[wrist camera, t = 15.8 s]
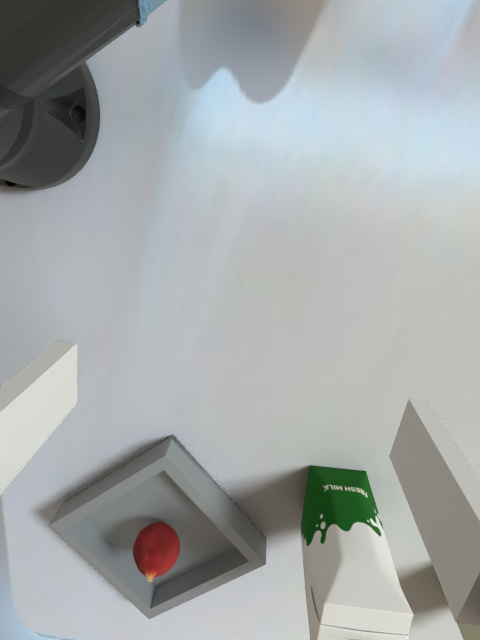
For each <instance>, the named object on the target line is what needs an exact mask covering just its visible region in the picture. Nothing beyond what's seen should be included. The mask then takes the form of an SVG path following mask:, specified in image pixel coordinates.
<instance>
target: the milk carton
mask: <svg viewBox="0 0 480 640" xmlns="http://www.w3.org/2000/svg"><path fill="white" fill-rule="evenodd" d="M301 537H302V551H303V564H304V578H305V591H306V601H307V611H308V620H309V631H310V640H408V638H409V628H410V625H411V622H412V618H413V615H414V614H413V612H412V610H411V608H410V606H409V604H408V602H407V600H406V598H405V595H404V593H403V591H402V589H401V586H400V583H399V580H398V576H397V573H396V570H395V566H394V563H393V560H392V556H391V553H390V550H389V546H388V543H387V540H386V537H385V533H384V530H383V527H382V523H381V520H380V517H379V514H378V510H377V507H376V503H375V500H374V497H373V494H372V490H371V487H370V484H369V480H368V477H367V473H366V471H357V470H347V469H338V468H328V467H319V466H310V469H309V476H308V482H307V488H306V495H305V501H304V508H303V514H302V522H301Z"/></svg>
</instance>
